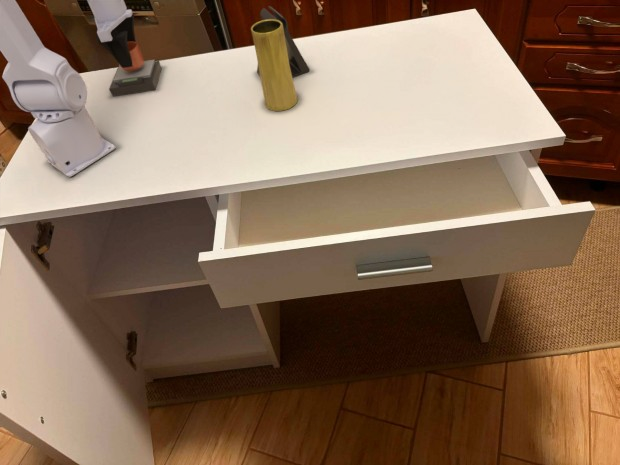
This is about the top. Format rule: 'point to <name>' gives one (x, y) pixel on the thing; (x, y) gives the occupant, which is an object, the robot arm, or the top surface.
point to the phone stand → (287, 45)
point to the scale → (136, 79)
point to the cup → (134, 56)
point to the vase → (274, 65)
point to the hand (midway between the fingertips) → (129, 59)
